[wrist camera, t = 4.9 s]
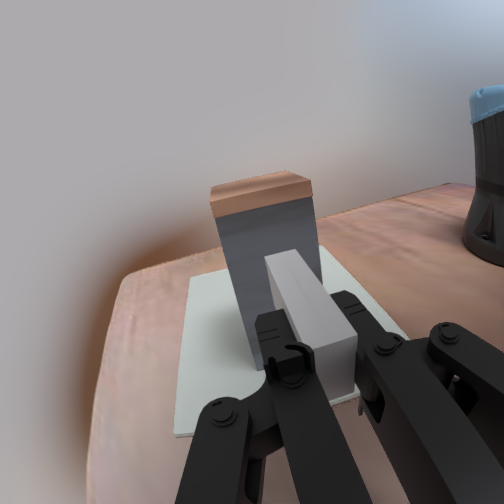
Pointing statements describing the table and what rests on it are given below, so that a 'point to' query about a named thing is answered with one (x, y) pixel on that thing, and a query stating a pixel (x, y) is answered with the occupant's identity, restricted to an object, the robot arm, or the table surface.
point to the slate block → (263, 237)
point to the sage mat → (237, 342)
